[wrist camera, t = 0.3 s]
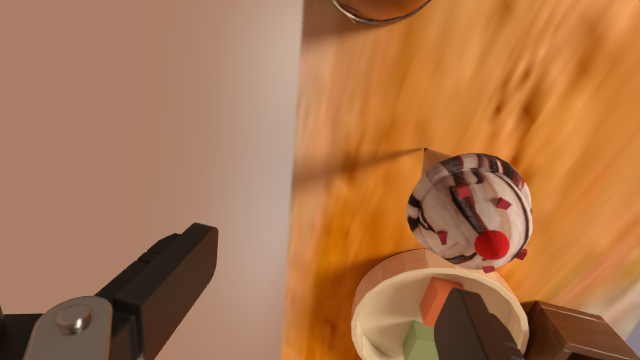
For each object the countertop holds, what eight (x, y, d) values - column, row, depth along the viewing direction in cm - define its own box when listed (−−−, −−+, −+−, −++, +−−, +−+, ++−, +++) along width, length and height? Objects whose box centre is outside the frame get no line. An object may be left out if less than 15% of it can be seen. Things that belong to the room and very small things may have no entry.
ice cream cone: (469, 165, 25) (598, 294, 11) (404, 189, 26) (445, 327, 13) (447, 103, 23) (567, 162, 10) (379, 132, 25) (397, 219, 11)
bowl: (373, 231, 29) (374, 249, 26) (543, 271, 27) (563, 295, 25) (338, 345, 35) (336, 369, 32) (476, 381, 34) (486, 410, 31)
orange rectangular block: (431, 275, 29) (437, 293, 27) (462, 283, 29) (470, 301, 26) (419, 305, 30) (423, 324, 28) (447, 313, 30) (454, 332, 28)
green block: (413, 319, 31) (416, 339, 29) (441, 326, 31) (447, 347, 29) (402, 345, 33) (404, 365, 31) (428, 352, 33) (433, 373, 30)
